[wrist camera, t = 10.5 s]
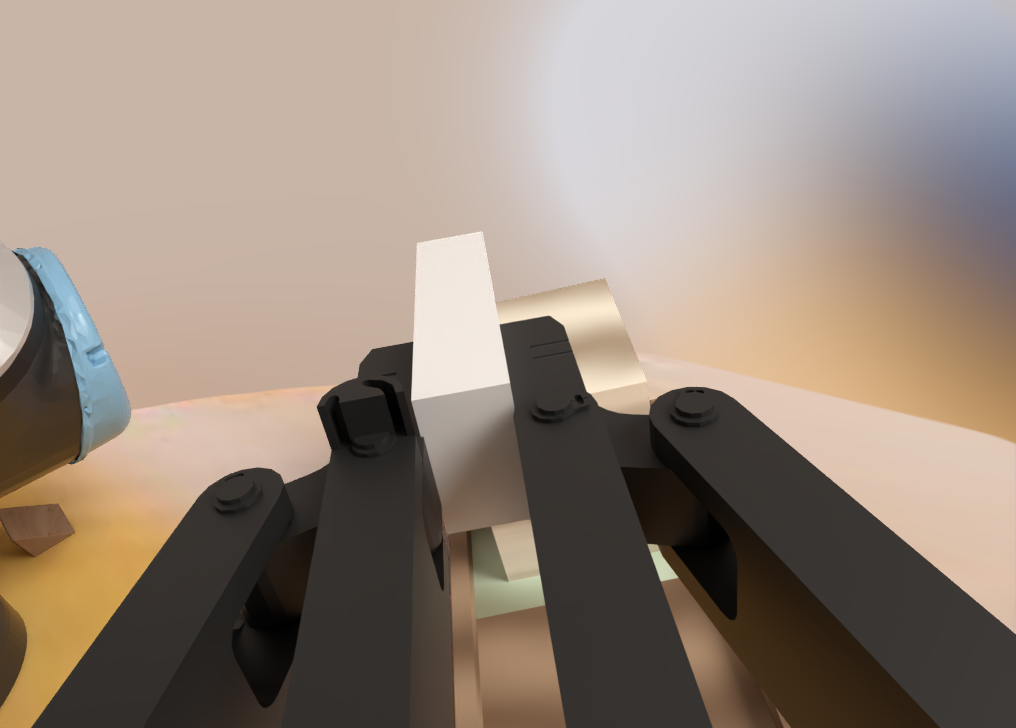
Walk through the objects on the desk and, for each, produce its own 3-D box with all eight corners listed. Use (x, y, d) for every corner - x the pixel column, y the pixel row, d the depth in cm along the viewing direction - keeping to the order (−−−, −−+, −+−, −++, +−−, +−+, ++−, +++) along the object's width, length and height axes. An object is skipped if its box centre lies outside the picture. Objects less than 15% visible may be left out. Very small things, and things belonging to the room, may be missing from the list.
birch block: (495, 461, 50) (452, 312, 43) (627, 433, 49) (605, 278, 42) (508, 581, 42) (457, 422, 35) (666, 549, 41) (646, 381, 34)
